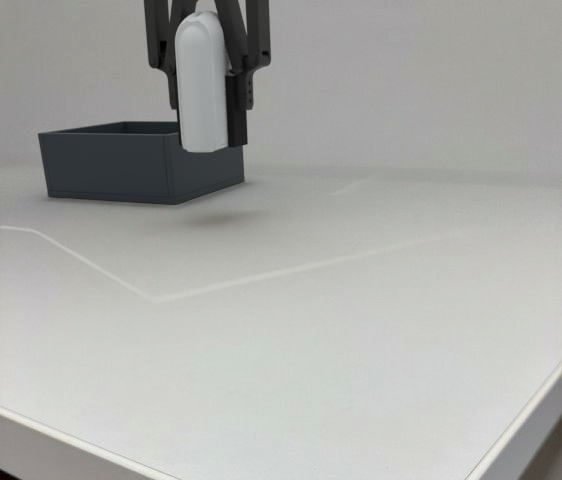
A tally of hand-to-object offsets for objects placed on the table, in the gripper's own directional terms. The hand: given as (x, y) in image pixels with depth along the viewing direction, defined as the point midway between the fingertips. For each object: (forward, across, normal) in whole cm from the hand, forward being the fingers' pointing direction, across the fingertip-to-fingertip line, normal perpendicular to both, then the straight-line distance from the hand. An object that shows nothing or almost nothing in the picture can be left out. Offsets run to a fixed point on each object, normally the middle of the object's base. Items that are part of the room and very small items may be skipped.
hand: (213, 144), depth 70 cm
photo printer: (+1, 0, 0) cm, 1 cm away
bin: (+8, +19, -14) cm, 25 cm away
